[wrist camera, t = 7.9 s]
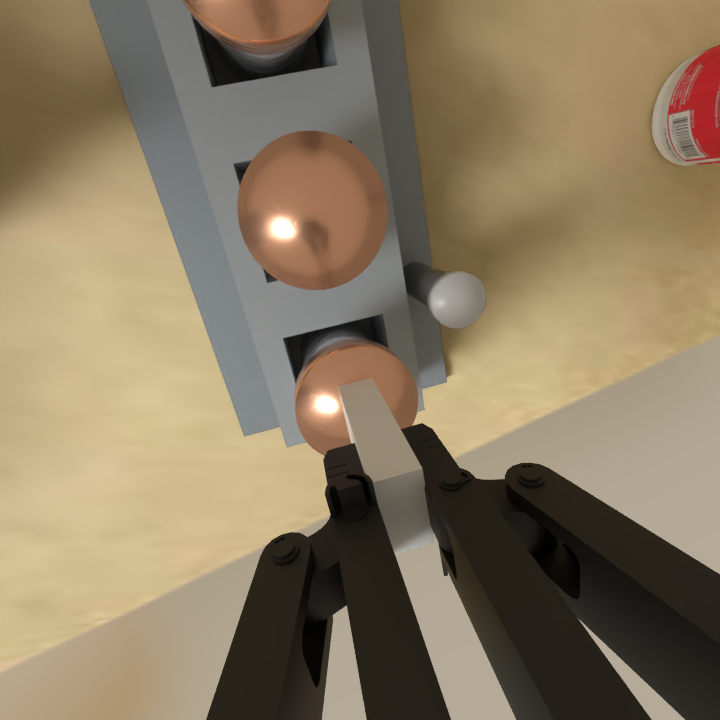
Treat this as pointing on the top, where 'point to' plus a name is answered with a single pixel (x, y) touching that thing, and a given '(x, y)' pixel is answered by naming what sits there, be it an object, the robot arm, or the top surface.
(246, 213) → the knob mid
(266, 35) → the knob
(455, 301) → the pot post
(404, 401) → the knob
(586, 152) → the top surface
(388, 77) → the mount
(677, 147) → the pill bottle
